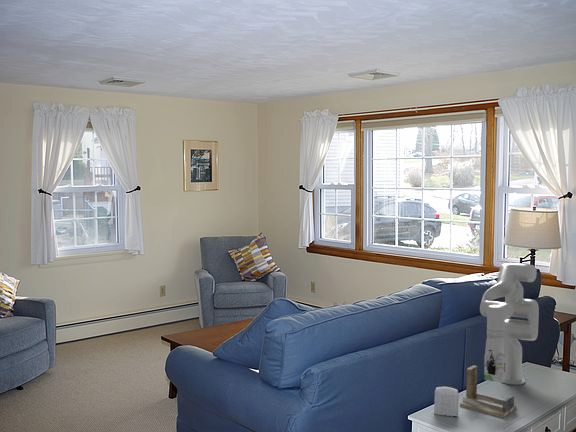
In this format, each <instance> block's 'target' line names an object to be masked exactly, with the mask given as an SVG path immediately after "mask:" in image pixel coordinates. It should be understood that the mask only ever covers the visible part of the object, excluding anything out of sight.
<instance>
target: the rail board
mask: <svg viewBox="0 0 576 432" xmlns="http://www.w3.org/2000/svg"><path fill="white" fill-rule="evenodd" d="M459 406H460V407H463V408H467V409H469V410H470V409H471V410H473V411H477V412H480V413H481V412H482V413H484V414H488V415H491V416H494V417H495V416H496V417H499V418H502V419H503V418H505V417H506V416H508V415H509V414H510V413H512V412H513V411H514V410H516V409H517V405H516V404H515V395H512V394H511V395H509V396H508V397H506V398H505V399H504V398H499V397H495V396H492V395H488V394H484V393H480V392H477V398H476V399H472V398H469V397H466V396H465V395H464V396H462V401H461V402H459Z"/></svg>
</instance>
